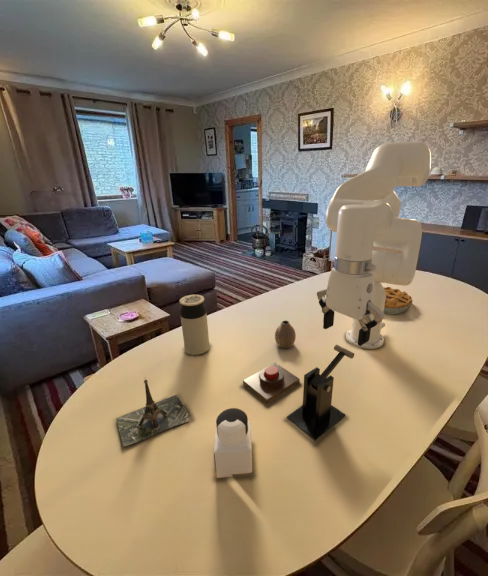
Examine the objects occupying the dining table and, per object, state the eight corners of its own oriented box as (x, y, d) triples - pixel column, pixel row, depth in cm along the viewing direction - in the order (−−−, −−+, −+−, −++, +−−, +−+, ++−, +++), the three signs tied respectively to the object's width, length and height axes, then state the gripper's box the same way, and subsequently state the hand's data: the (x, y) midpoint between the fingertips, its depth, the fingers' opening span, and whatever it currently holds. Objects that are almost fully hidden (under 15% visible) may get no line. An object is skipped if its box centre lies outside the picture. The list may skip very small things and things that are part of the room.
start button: (271, 369, 86) (271, 364, 85) (280, 375, 83) (280, 370, 83) (262, 375, 84) (261, 369, 83) (270, 381, 81) (270, 376, 81)
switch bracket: (316, 398, 80) (319, 357, 76) (345, 418, 74) (350, 375, 69) (286, 420, 74) (287, 377, 69) (315, 444, 67) (318, 398, 63)
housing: (275, 368, 92) (275, 357, 91) (299, 385, 85) (300, 373, 84) (243, 386, 85) (242, 374, 83) (267, 406, 78) (266, 394, 76)
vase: (293, 352, 100) (294, 328, 97) (273, 349, 101) (273, 326, 98) (296, 340, 106) (297, 318, 103) (276, 338, 107) (277, 316, 104)
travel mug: (214, 345, 104) (210, 296, 97) (199, 358, 97) (194, 306, 90) (195, 339, 107) (189, 292, 100) (179, 352, 100) (172, 301, 93)
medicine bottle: (218, 447, 67) (214, 404, 62) (251, 445, 67) (250, 402, 63) (216, 478, 60) (211, 433, 56) (252, 476, 61) (250, 430, 56)
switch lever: (338, 348, 76) (336, 342, 75) (355, 356, 73) (353, 350, 72) (307, 384, 72) (305, 378, 70) (324, 395, 68) (322, 390, 67)
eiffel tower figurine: (178, 395, 82) (171, 352, 76) (191, 420, 74) (185, 374, 69) (116, 419, 74) (104, 374, 69) (124, 450, 66) (111, 402, 61)
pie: (415, 300, 136) (417, 290, 134) (405, 321, 119) (408, 309, 117) (366, 290, 147) (367, 280, 145) (351, 307, 130) (352, 296, 128)
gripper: (399, 271, 62) (387, 344, 68) (330, 253, 74) (325, 317, 80) (379, 279, 57) (368, 357, 63) (309, 259, 69) (306, 326, 75)
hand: (344, 334), depth 72 cm, fingers open, 9 cm apart
